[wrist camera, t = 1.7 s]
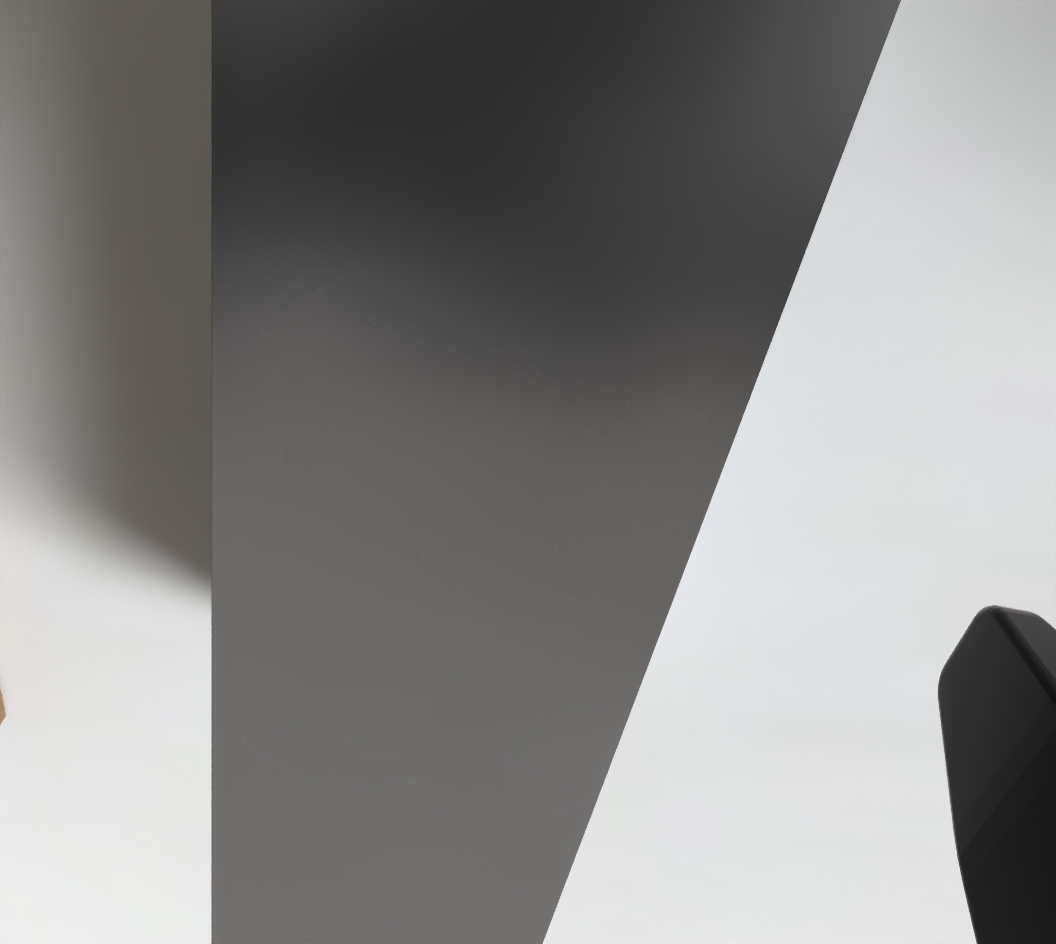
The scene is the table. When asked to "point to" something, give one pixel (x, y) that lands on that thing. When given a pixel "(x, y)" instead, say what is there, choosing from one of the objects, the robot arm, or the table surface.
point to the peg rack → (1, 709)
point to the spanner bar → (477, 416)
